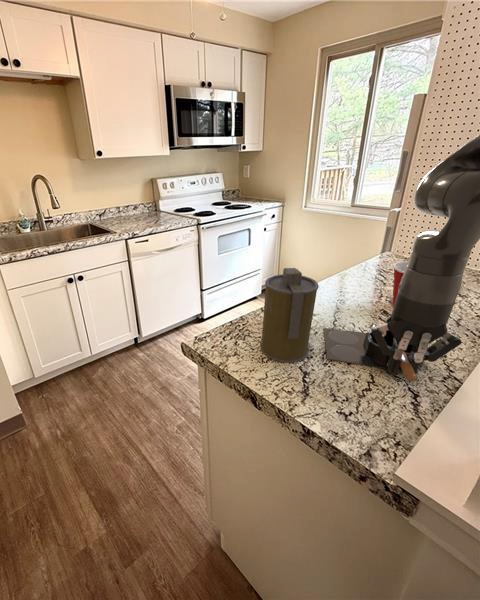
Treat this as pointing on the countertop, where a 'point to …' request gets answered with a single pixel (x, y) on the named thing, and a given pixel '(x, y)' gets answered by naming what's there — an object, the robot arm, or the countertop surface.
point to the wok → (376, 354)
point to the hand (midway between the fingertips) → (400, 373)
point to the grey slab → (348, 347)
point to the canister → (288, 315)
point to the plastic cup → (398, 277)
